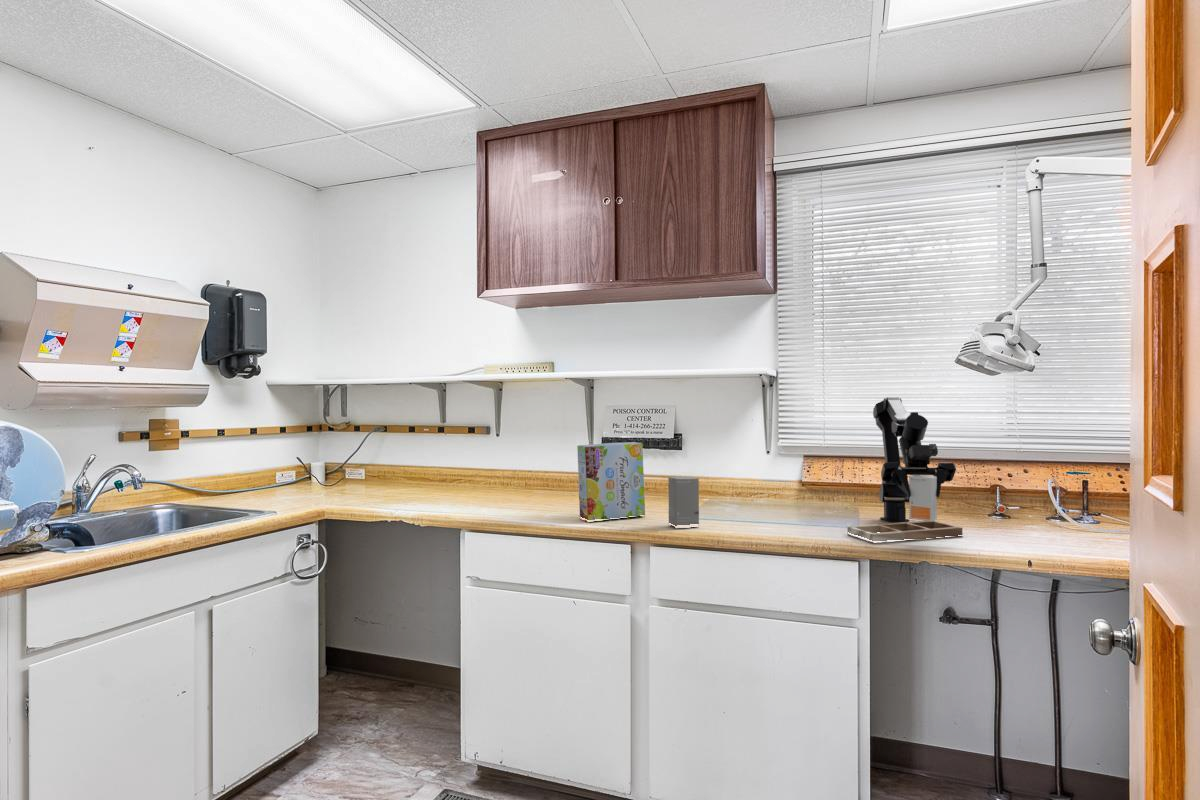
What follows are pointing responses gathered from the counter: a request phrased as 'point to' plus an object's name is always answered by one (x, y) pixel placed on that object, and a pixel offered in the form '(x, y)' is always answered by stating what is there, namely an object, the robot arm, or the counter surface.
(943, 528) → the brown compartment tray
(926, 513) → the skincare box
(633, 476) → the snack box
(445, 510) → the counter surface
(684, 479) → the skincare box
